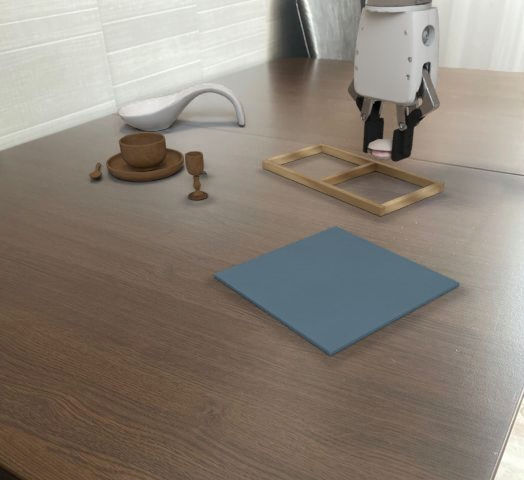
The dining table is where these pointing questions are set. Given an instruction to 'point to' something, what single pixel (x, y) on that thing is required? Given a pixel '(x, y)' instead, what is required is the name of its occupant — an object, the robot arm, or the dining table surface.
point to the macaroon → (380, 149)
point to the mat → (335, 287)
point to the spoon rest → (173, 107)
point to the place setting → (152, 161)
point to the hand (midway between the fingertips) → (386, 153)
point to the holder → (366, 167)
